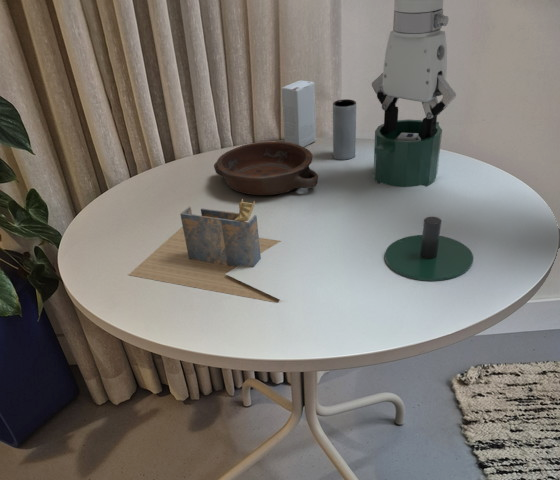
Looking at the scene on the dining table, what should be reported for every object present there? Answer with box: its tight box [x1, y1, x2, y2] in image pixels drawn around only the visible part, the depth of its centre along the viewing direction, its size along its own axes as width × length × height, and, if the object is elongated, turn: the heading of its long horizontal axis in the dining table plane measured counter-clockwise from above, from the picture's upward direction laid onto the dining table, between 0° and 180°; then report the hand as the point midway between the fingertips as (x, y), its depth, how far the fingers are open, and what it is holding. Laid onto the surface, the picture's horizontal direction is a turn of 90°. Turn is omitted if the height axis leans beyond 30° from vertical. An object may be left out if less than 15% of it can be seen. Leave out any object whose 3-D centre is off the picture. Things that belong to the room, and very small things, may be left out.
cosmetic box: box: [281, 79, 317, 148], centre depth 121 cm, size 6×4×12 cm
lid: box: [384, 216, 474, 282], centre depth 83 cm, size 13×13×7 cm
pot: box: [372, 119, 443, 188], centre depth 106 cm, size 12×17×8 cm
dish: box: [213, 140, 319, 196], centre depth 109 cm, size 18×22×5 cm
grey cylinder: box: [332, 98, 357, 161], centre depth 115 cm, size 4×4×10 cm
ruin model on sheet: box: [128, 198, 282, 303], centre depth 86 cm, size 25×16×10 cm, turn 67°
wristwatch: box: [395, 133, 421, 141], centre depth 105 cm, size 6×3×5 cm, turn 66°
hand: (408, 135), depth 103 cm, fingers open, 7 cm apart
